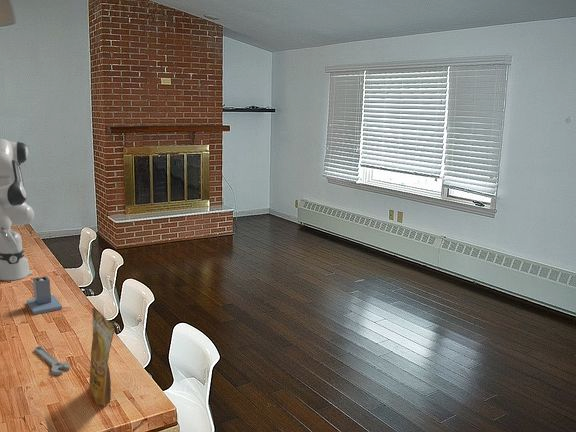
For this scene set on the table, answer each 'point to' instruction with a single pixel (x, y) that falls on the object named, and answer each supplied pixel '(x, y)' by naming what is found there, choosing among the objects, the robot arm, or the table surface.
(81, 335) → the table surface
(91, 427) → the table surface
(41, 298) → the steel collar
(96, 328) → the pancake mix bag
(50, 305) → the shaft base
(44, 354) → the adjustable wrench
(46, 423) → the table surface
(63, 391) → the table surface
